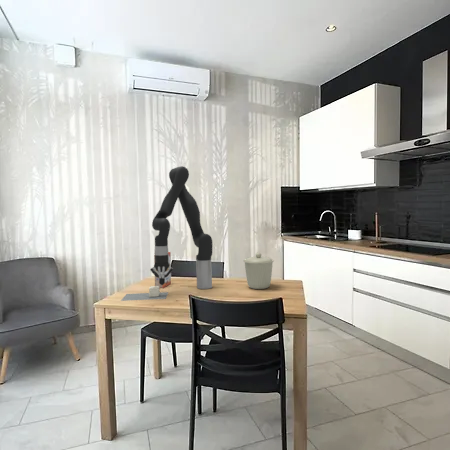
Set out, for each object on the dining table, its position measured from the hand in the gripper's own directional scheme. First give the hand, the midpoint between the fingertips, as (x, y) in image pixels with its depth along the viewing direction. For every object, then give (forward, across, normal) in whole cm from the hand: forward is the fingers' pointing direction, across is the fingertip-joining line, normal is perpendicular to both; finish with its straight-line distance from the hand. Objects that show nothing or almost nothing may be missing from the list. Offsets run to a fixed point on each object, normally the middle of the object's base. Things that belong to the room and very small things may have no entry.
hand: (162, 284), depth 184 cm
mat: (+7, +9, 0) cm, 11 cm away
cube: (+6, +4, 0) cm, 8 cm away
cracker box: (+7, +2, -25) cm, 26 cm away
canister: (+6, -57, -11) cm, 58 cm away
